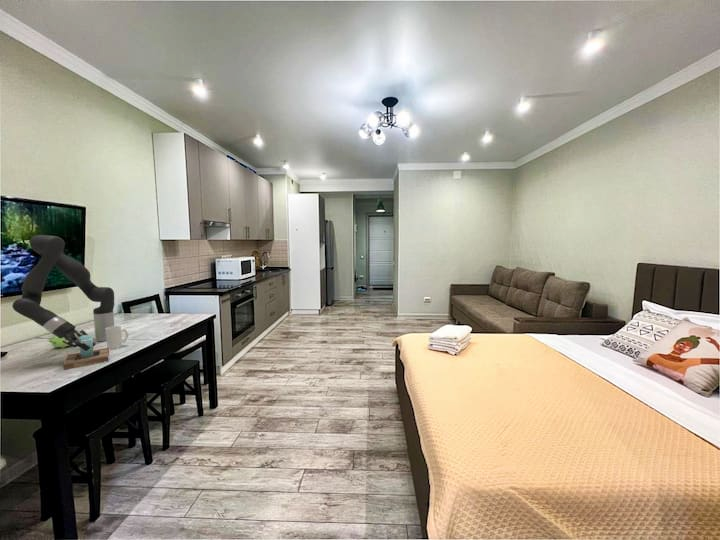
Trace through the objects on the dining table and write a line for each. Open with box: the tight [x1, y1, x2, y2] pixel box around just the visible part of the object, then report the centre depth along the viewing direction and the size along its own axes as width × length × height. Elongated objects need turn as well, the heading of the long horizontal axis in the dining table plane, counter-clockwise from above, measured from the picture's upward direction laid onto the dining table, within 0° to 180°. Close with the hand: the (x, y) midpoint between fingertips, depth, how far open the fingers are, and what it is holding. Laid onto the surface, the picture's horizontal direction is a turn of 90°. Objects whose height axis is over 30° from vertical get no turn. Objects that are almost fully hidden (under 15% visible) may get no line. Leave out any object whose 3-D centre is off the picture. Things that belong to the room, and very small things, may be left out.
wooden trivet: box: [62, 347, 110, 371], centre depth 146 cm, size 16×16×2 cm
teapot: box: [47, 334, 70, 349], centre depth 164 cm, size 11×12×8 cm
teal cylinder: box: [79, 334, 95, 359], centre depth 145 cm, size 5×5×11 cm
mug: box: [106, 325, 129, 350], centre depth 164 cm, size 10×7×12 cm, turn 114°
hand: (91, 347), depth 146 cm, fingers closed on teal cylinder, 4 cm apart
